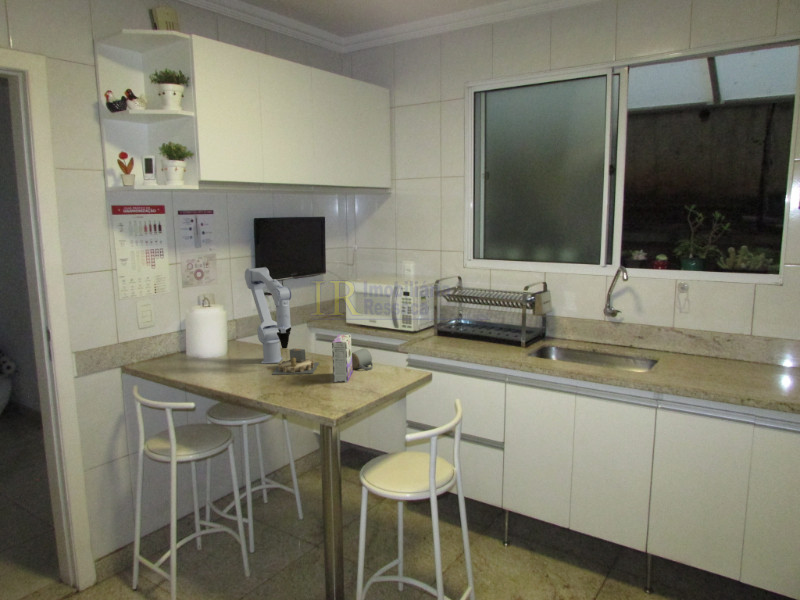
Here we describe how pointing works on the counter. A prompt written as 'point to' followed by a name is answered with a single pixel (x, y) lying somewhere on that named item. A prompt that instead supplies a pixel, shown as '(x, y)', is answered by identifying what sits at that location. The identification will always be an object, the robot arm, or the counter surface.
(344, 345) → the candy box
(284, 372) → the index plate
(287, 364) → the sprocket
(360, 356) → the ceramic mug
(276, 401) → the counter surface
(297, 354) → the banded gift box
